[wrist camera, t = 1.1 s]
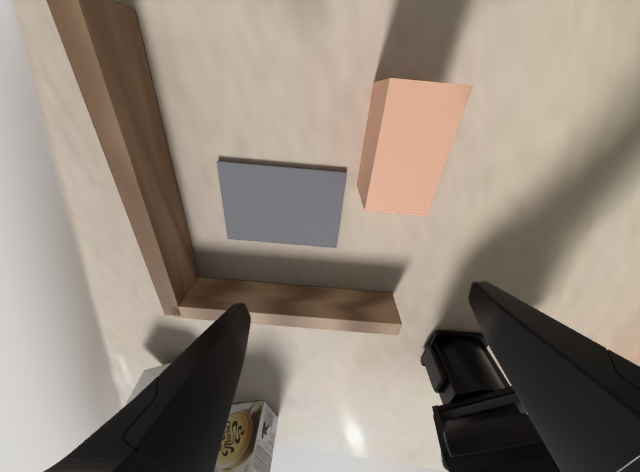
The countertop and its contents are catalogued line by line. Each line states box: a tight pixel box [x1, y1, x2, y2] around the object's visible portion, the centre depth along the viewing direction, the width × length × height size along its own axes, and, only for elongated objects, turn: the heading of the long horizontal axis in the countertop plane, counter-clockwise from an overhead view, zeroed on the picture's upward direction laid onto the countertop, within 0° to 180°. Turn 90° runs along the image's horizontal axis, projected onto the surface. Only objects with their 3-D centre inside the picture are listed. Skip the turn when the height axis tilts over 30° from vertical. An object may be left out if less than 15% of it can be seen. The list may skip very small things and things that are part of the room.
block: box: [357, 78, 473, 216], centre depth 15 cm, size 4×7×5 cm, turn 176°
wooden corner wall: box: [47, 0, 402, 335], centre depth 18 cm, size 22×22×4 cm
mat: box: [217, 161, 346, 248], centre depth 20 cm, size 10×7×1 cm
